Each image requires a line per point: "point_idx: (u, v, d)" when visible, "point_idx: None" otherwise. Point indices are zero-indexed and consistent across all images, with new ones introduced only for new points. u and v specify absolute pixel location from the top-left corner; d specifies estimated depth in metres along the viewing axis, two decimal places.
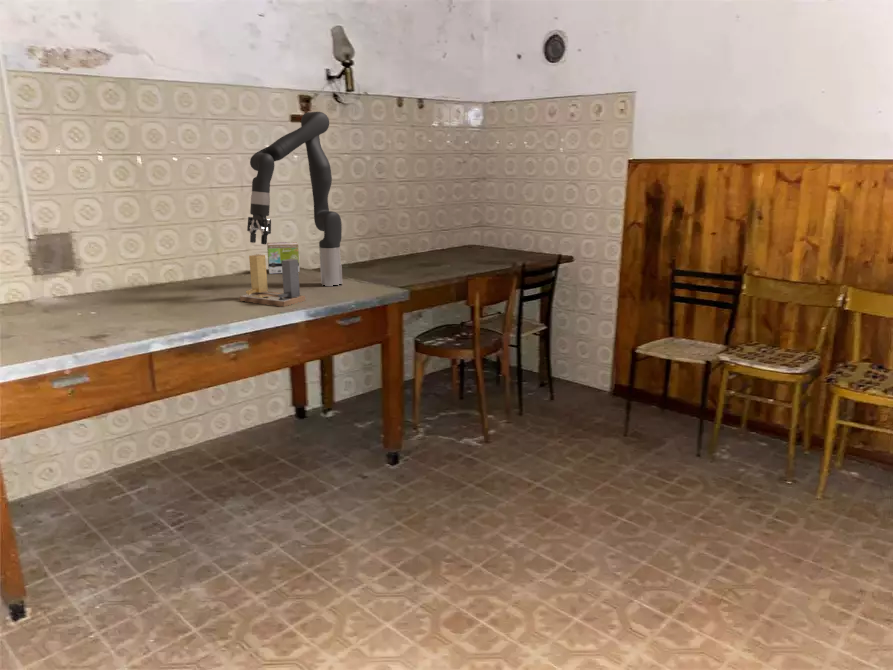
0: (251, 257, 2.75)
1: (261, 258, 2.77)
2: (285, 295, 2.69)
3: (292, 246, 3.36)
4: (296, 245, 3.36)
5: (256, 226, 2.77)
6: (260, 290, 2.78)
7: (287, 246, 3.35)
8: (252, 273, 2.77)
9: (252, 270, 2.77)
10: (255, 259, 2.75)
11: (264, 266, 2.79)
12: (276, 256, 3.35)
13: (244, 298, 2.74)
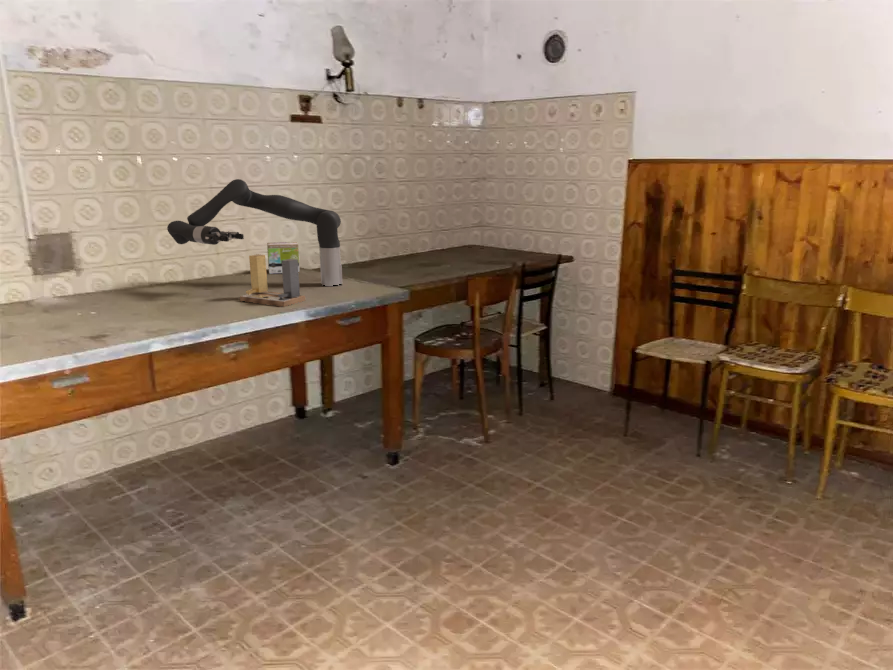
0: (251, 257, 2.75)
1: (261, 258, 2.77)
2: (285, 295, 2.69)
3: (292, 246, 3.36)
4: (296, 245, 3.36)
5: None
6: (260, 290, 2.78)
7: (287, 246, 3.35)
8: (252, 273, 2.77)
9: (252, 270, 2.77)
10: (255, 259, 2.75)
11: (264, 266, 2.79)
12: (276, 256, 3.35)
13: (244, 298, 2.74)
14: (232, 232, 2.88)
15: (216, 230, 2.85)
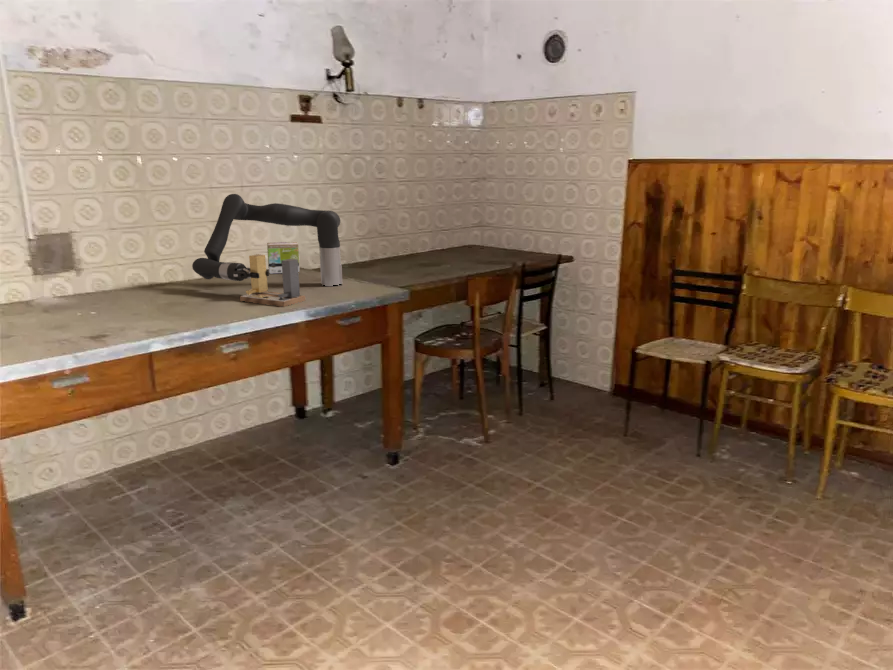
0: (251, 257, 2.75)
1: (261, 258, 2.77)
2: (285, 295, 2.69)
3: (292, 246, 3.36)
4: (296, 245, 3.36)
5: None
6: (260, 290, 2.78)
7: (287, 246, 3.35)
8: None
9: (252, 270, 2.77)
10: (255, 259, 2.75)
11: (264, 266, 2.79)
12: (276, 256, 3.35)
13: (244, 298, 2.74)
14: None
15: (242, 266, 2.84)
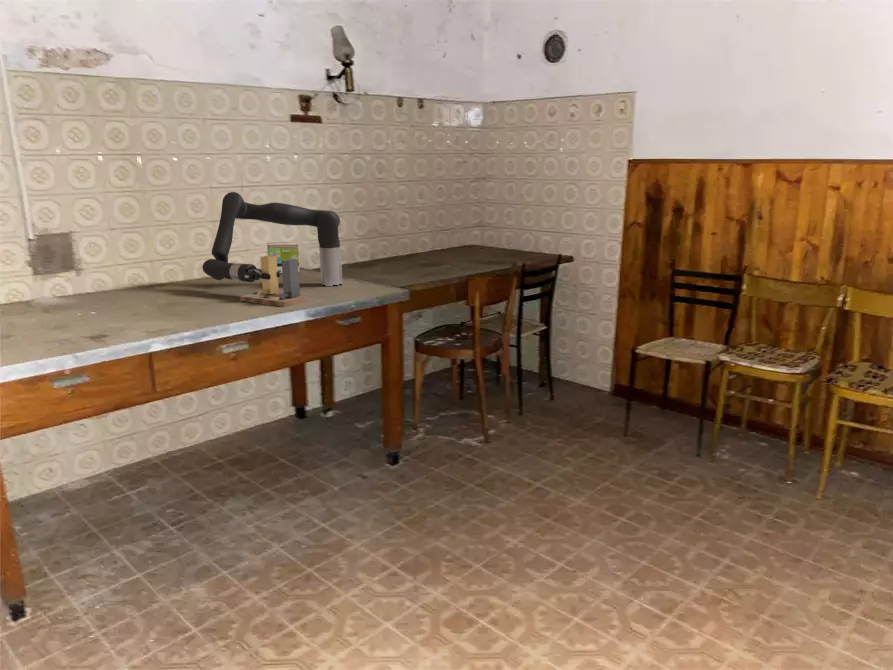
0: (262, 258, 2.73)
1: (272, 259, 2.74)
2: (285, 295, 2.69)
3: (292, 246, 3.36)
4: (296, 245, 3.36)
5: None
6: (271, 291, 2.76)
7: (287, 246, 3.35)
8: None
9: (263, 271, 2.74)
10: (266, 260, 2.72)
11: (276, 267, 2.76)
12: (276, 256, 3.35)
13: (244, 298, 2.74)
14: None
15: (253, 267, 2.81)
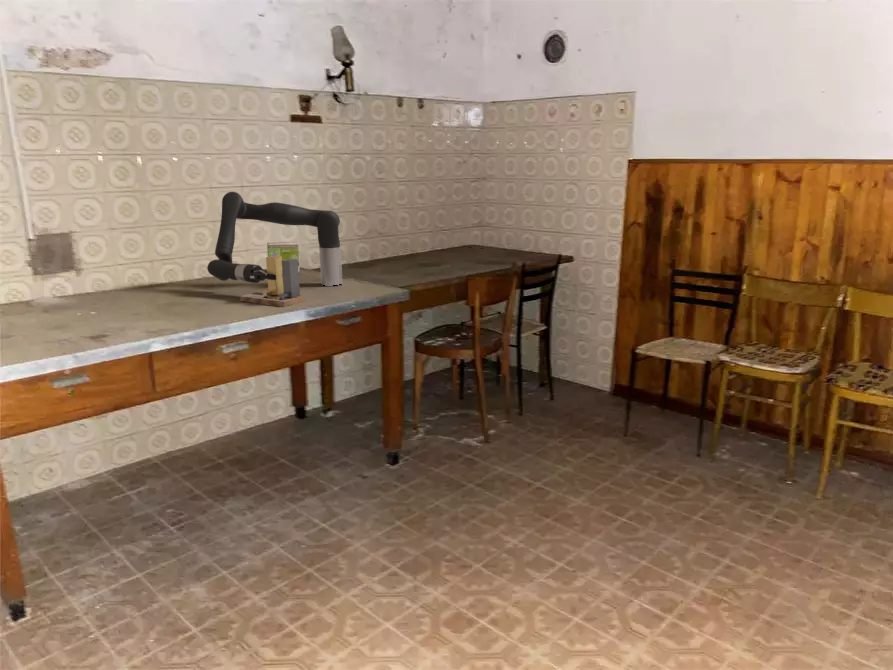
0: (268, 258, 2.71)
1: (278, 259, 2.73)
2: (285, 295, 2.69)
3: (292, 246, 3.36)
4: (296, 245, 3.36)
5: None
6: (277, 292, 2.74)
7: (287, 246, 3.35)
8: None
9: (269, 272, 2.73)
10: (272, 260, 2.71)
11: (281, 267, 2.75)
12: None
13: (244, 298, 2.74)
14: None
15: (258, 268, 2.80)
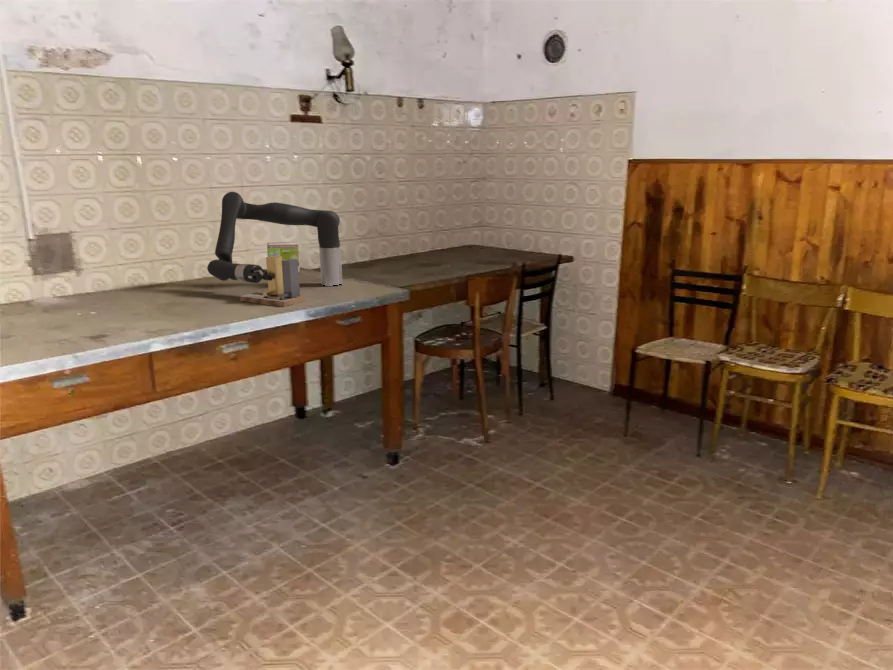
0: (268, 258, 2.71)
1: (278, 259, 2.73)
2: (285, 295, 2.69)
3: (292, 246, 3.36)
4: (296, 245, 3.36)
5: None
6: (277, 292, 2.74)
7: (287, 246, 3.35)
8: None
9: (269, 272, 2.73)
10: (272, 260, 2.71)
11: (281, 267, 2.75)
12: None
13: (244, 298, 2.74)
14: None
15: (258, 268, 2.80)
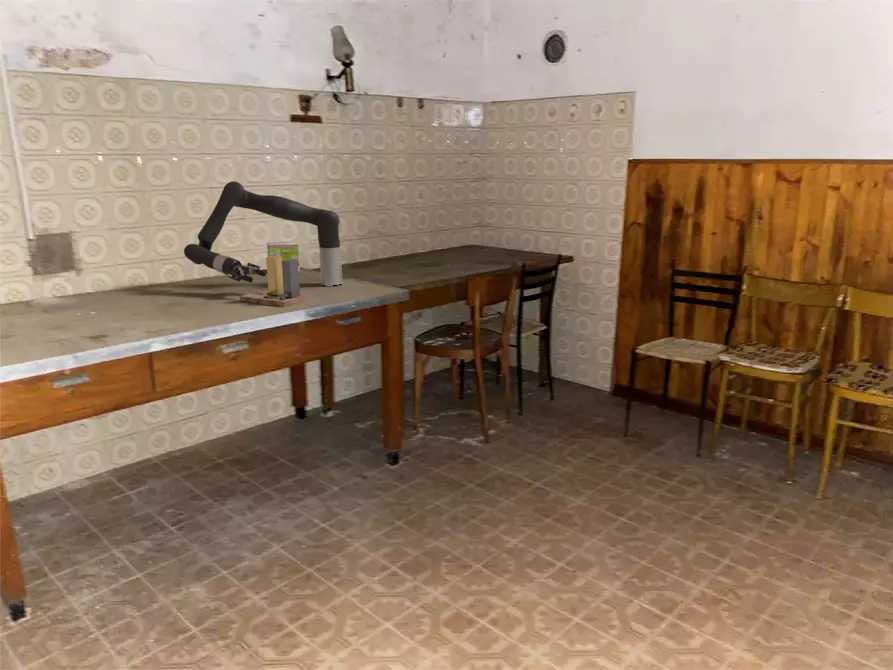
0: (268, 258, 2.71)
1: (278, 259, 2.73)
2: (285, 295, 2.69)
3: (292, 246, 3.36)
4: (296, 245, 3.36)
5: None
6: (277, 292, 2.74)
7: (287, 246, 3.35)
8: (269, 275, 2.73)
9: (269, 272, 2.73)
10: (272, 260, 2.71)
11: (281, 267, 2.75)
12: None
13: (244, 298, 2.74)
14: (253, 265, 2.89)
15: (237, 263, 2.85)
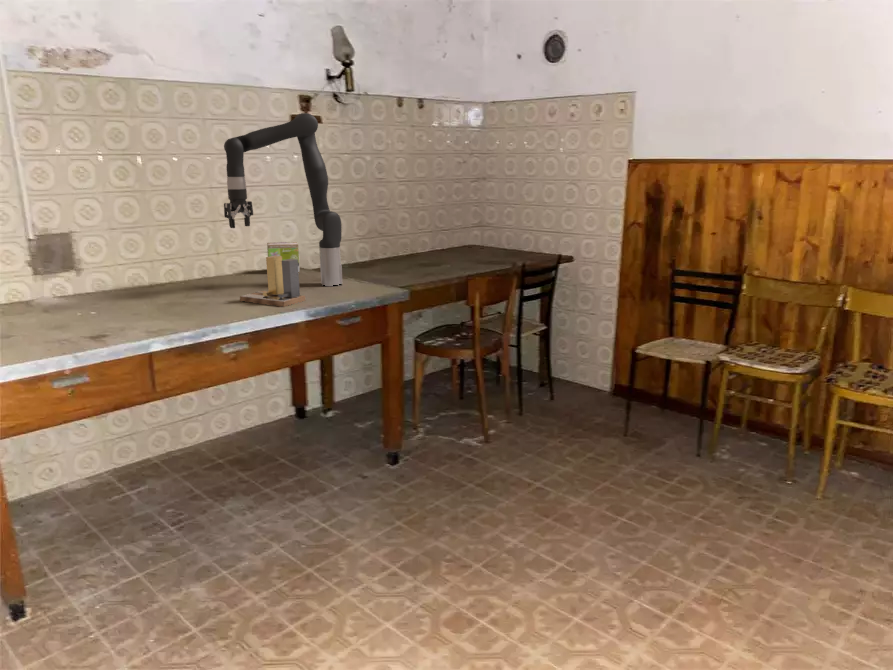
0: (268, 258, 2.71)
1: (278, 259, 2.73)
2: (285, 295, 2.69)
3: (292, 246, 3.36)
4: (296, 245, 3.36)
5: None
6: (277, 292, 2.74)
7: (287, 246, 3.35)
8: (269, 275, 2.73)
9: (269, 272, 2.73)
10: (272, 260, 2.71)
11: (281, 267, 2.75)
12: None
13: (244, 298, 2.74)
14: (250, 208, 2.88)
15: (243, 199, 2.82)
